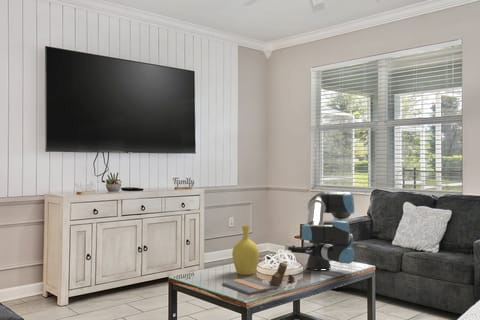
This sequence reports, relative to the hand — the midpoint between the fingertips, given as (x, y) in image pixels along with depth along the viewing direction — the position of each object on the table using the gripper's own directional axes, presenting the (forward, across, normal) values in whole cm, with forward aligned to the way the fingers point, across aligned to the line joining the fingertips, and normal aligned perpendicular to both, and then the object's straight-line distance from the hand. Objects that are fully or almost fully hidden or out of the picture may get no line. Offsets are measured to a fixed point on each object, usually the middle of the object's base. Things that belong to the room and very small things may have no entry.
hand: (295, 245), depth 239 cm
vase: (+43, +1, -22) cm, 48 cm away
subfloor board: (+17, -17, -22) cm, 33 cm away
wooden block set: (+13, +1, -23) cm, 26 cm away
